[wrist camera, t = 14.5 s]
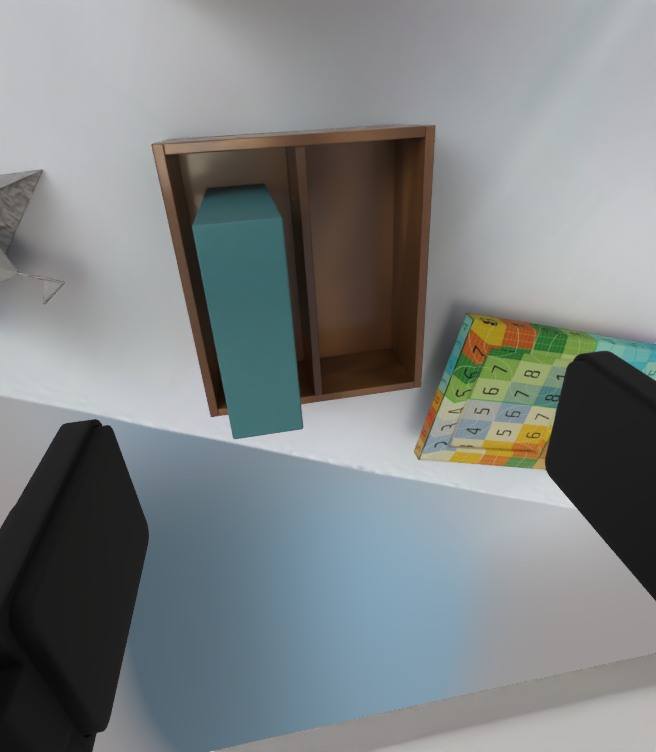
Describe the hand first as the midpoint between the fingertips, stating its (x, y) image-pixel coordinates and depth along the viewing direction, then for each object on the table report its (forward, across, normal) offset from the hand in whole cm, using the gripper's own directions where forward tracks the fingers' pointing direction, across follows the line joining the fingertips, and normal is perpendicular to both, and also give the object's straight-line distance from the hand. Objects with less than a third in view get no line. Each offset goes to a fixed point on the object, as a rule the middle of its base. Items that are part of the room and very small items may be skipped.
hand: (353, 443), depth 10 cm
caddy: (+22, -1, +2) cm, 23 cm away
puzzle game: (+23, -20, +15) cm, 34 cm away
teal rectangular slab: (+22, +2, +2) cm, 22 cm away
